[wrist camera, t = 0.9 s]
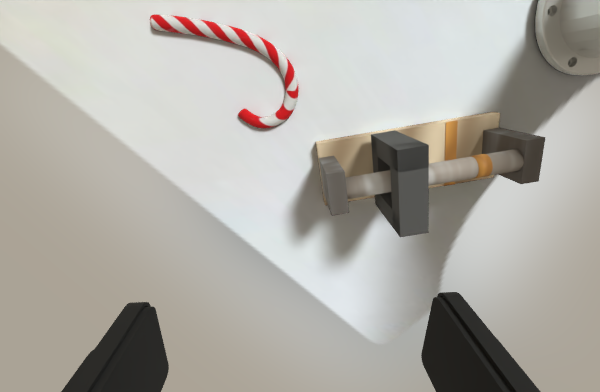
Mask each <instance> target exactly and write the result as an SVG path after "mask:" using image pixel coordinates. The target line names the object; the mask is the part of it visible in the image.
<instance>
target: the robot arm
mask: <svg viewBox="0 0 600 392" xmlns="http://www.w3.org/2000/svg"><path fill="white" fill-rule="evenodd" d="M535 32H536V38H537V43H538V46H539V48H540V51H541V53H542V55H543V56H544V58H545V59H546V60H547V62H548V63H549V64H550V65H552V66H553V67H554V68H555V69H557V70H559V71H561V72H563V73H566V74H572V75H593V74H599V73H600V0H539V1H538V5H537V11H536V17H535ZM422 362H423V365H424V368H425V369H426V372H427V374H428V376H429V378H430V380H431V382H432V384H433V386H434V388H435V390H436V392H540V391H539V389H538V388H537V387H536V386H535V385H534V383H533V382H532V381H531V380H530V378H529V377H528V376H527V375H526V374H525V372H524V371H523V370H522V369H521V368H520V367H519V365H518V364H517V363H516V361H515V360H514V359H513V358H512V357H511V355H510V354H509V353H508V352H507V350H506V349H505V348H504V347H503V346H502V344H501V343H500V342H499V341H498V340H497V339H496V338H495V336H494V335H493V334H492V333H491V331H490V330H489V329H488V328H487V327H486V325H485V324H484V323H483V322H482V320H481V319H480V318H479V317H478V316H477V314H476V313H475V312H474V311H473V309H472V308H471V307H470V306H469V305H468V303H467V302H466V301H465V300H464V299H463V297H462V296H461V295H460V294H459V293H457V292H448V293H439V294H438V296H437V297H435V298H434V299H433V302H432V306H431V311H430V316H429V321H428V326H427V330H426V336H425V340H424V345H423V350H422ZM167 374H168V361H167V356H166V352H165V348H164V344H163V339H162V335H161V331H160V327H159V322H158V318H157V314H156V310H155V308H154V307H151V306H150V304H149V303H147V302H141V303H140V302H139V303H128V304H127V305H126V306H125V307H124V309H123V310H122V312H121V313H120V314H119V316H118V317H117V319H116V320H115V322H114V323H113V324H112V326H111V327H110V328H109V330H108V331H107V333H106V334H105V335H104V337H103V338H102V340H101V341H100V342H99V344H98V345H97V347H96V348H95V349H94V350H93V351H91V352H90V354H89V355H88V356H87V357H86V359H85V360H84V361H83V363H82V364H81V365H80V367H79V368H78V370H77V371H76V372H75V374H74V375H73V377H72V378H71V379H70V381H69V382H68V384H67V385H66V386H65V388H64V389H63V390H62V392H161V390H162V388H163V385H164V382H165V380H166V378H167Z"/></svg>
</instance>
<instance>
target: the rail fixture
mask: <svg viewBox="0 0 600 392" xmlns="http://www.w3.org/2000/svg"><path fill="white" fill-rule="evenodd" d="M499 118H500V113H496V112H489V113H483V114H477V115H471V116H465V117H459V118H453V119H447V120H441V121H435V122H430V123H424V124H418V125H412V126H406V127H400V128H394V129H388V130H382V131H376V132H370V133H365V134H359V135H353V136H347V137H341V138H335V139H329V140H323V141H317V142H316V147H317V155H318V162H319V169H320V176H321V183H322V190H323V198H324V203H325V205H328V206H329V209H330V212H331V215H338V214H344V213H349V207H348V202H349V201H355V200H361V199H367V198H373V197H375V195H376V194H382V193H388V192H391V172H390V170H388V171H382V172H376V173H373V160H372V145H371V134H376V133H382V132H388V131H394V130H395V131H398V132H400V133H402V134H405V135H407V136H409V137H412V138H414V139H416V140H419V141H421V142H423V143H425V144H428V145H429V188H433V187H439V186H446V185H452V184H457V183H463V182H469V181H475V180H481V179H487V178H493V177H494V175H496V174H499V175H501V176H503V177H506V178H508V179H510V180H513V181H515V182H517V183H520V184H524V183H530V182H536V181H539V175H540V168H541V162H542V155H543V148H544V142H545V137H540V136H536V135H531V134H526V133H521V132H517V131H512V130H507V129H502V128H499Z"/></svg>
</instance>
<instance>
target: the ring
mask: <svg viewBox="0 0 600 392" xmlns="http://www.w3.org/2000/svg"><path fill="white" fill-rule="evenodd" d="M371 145H372V160H373V173H376V172H382V171H388V170H390V172H391V192H388V193H382V194H376V195H375V204H376V206H377V207H378V208H379V210H380V211H381V212H382V213H383V215H384V216H385V217H386V219H387V220H388V221H389V223H390V224H391V225H392V227H393V228H394V229H395V231H396V232H397V233H398V235H399V236H400V237H405V236H411V235H417V234H423V233H428V197H429V145H428V144H425V143H423V142H421V141H419V140H416V139H414V138H412V137H409V136H407V135H405V134H402V133H400V132H398V131H395V130H394V131H388V132H382V133H376V134H371Z"/></svg>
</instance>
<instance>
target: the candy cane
mask: <svg viewBox="0 0 600 392" xmlns="http://www.w3.org/2000/svg"><path fill="white" fill-rule="evenodd" d="M150 24H151V27H152V28H153V29H155V30H159V31H166V32H176V33H184V34H192V35H198V36H204V37H209V38H214V39H218V40H223V41H227V42H231V43H235V44H238V45H242V46H245V47H248V48H250V49H253V50H255V51H257V52H259V53H261V54H263V55H264V56H266V57H267V58H269V59H270V60H271V61H272V62H273V63H274V64H275V65H276V66H277V67H278V69H279V70H280V72H281V74H282V76H283V78H284V82H285V89H286V92H285V99H284V102H283V104H282V106H281V108H280V109H279V110H278V111H277V112H276V113H274V114H273V115H271V116H268V117H258V116H256V115H254V114H252V113H251V112H249V111H248V110H247V109H243V110H241V111H240V112H239V114H238V116H239V117H240V118H241V119H242V120H243V121H245V122H246V123H248V124H250V125H252V126H254V127H258V128H270V127H274V126H277V125H279V124H281V123H282V122H284V121H285V120H287V119H288V118H289V116H290V115H291V114H292V112H293V110H294V108H295V106H296V103H297V98H298V81H297V76H296V73H295V71H294V69H293V67H292V65H291V63H290V62H289V60H288V59H287V58H286V56H285V55H284V54H283V53H282V52H281V51H280V50H279V49H278V48H276V47H275V46H274V45H272V44H271V43H270V42H268V41H266V40H265V39H263V38H261V37H259V36H257V35H255V34H253V33H250V32H247V31H245V30H241V29H238V28H234V27H231V26H227V25H223V24H218V23H214V22H209V21H204V20H199V19H193V18H186V17H178V16H169V15H152V16H151V17H150Z"/></svg>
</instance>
